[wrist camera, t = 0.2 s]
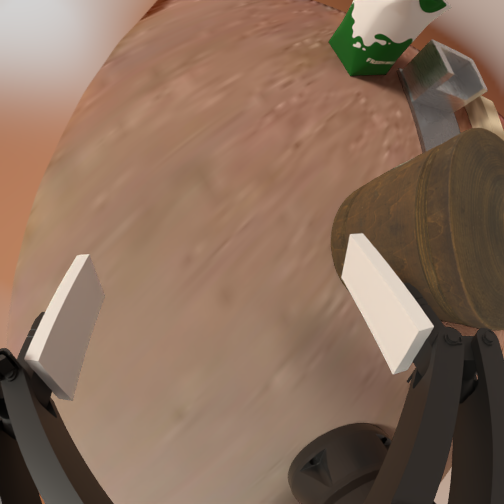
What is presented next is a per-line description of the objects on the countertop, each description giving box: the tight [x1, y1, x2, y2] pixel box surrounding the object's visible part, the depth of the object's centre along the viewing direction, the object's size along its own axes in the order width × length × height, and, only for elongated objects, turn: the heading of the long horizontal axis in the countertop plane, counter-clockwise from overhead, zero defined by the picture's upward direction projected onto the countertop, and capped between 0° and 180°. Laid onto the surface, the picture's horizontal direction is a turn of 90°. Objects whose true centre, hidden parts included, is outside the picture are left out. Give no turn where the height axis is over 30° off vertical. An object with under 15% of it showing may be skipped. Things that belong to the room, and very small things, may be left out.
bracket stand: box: [397, 40, 487, 153], centre depth 28 cm, size 22×10×10 cm, turn 4°
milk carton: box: [329, 0, 451, 76], centre depth 22 cm, size 9×9×20 cm
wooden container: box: [331, 128, 504, 331], centre depth 20 cm, size 15×15×22 cm
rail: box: [465, 96, 504, 140], centre depth 32 cm, size 16×4×5 cm, turn 5°
